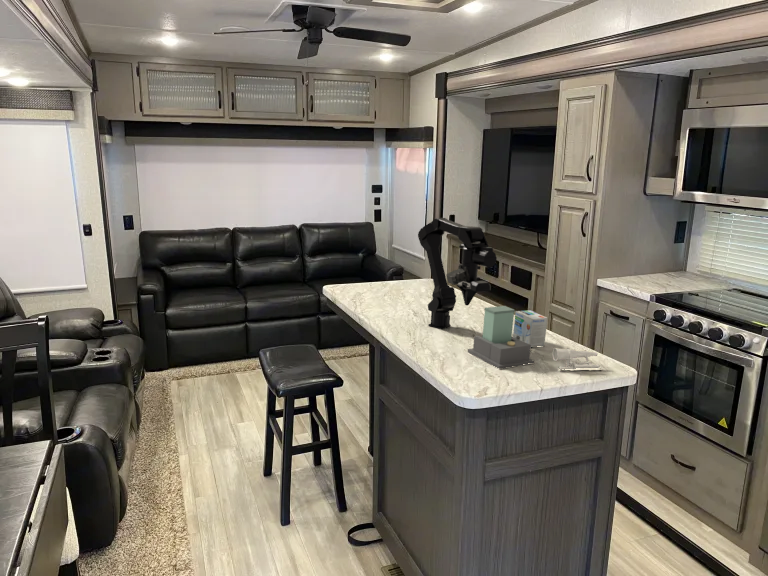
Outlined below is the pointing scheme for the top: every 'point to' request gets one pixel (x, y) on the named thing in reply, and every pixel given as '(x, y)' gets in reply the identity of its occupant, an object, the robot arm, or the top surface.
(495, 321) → the pale green tall block
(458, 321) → the top surface
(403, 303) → the top surface
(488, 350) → the switch housing
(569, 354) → the toy cannon
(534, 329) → the light bulb box
